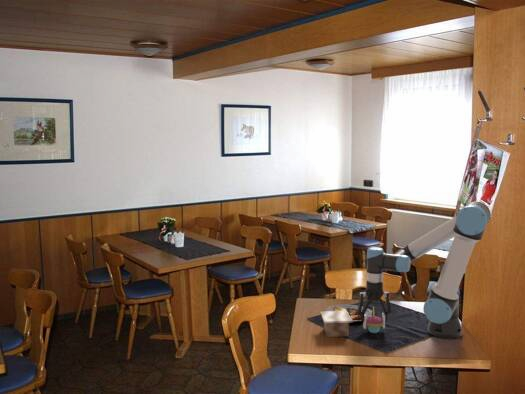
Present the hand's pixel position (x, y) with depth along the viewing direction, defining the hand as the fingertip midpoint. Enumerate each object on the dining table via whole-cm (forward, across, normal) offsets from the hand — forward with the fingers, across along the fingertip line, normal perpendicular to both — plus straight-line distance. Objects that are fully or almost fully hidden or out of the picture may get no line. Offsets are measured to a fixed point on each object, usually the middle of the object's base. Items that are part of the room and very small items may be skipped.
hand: (374, 327), depth 245 cm
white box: (+2, +18, 0) cm, 18 cm away
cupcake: (+2, 0, 0) cm, 2 cm away
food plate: (+2, +8, -21) cm, 23 cm away
